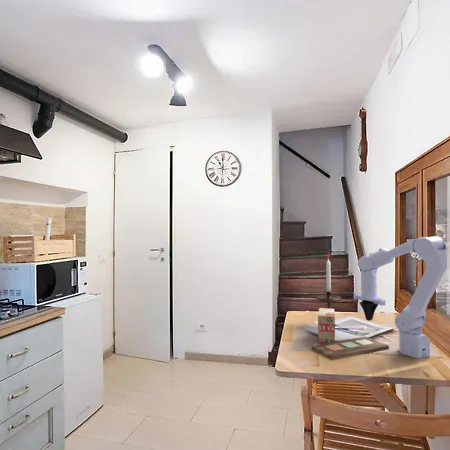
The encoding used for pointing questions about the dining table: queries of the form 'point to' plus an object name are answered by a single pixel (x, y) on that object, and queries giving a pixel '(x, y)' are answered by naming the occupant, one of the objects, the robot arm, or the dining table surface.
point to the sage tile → (349, 345)
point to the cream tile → (364, 342)
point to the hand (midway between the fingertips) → (369, 319)
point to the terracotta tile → (334, 348)
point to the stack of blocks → (326, 325)
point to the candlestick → (328, 288)
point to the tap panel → (349, 352)
